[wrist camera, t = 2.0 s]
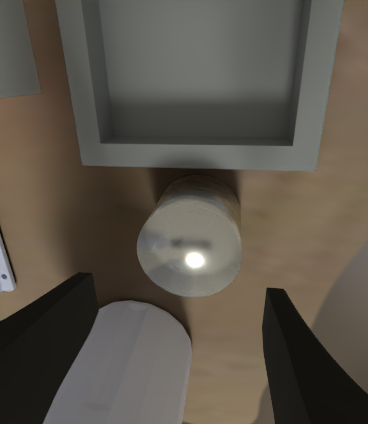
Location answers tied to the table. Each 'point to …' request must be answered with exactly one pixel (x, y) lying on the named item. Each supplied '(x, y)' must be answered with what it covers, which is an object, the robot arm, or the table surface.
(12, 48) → the pale upright block
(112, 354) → the soap bottle
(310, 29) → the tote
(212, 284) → the metal can
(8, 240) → the table surface
